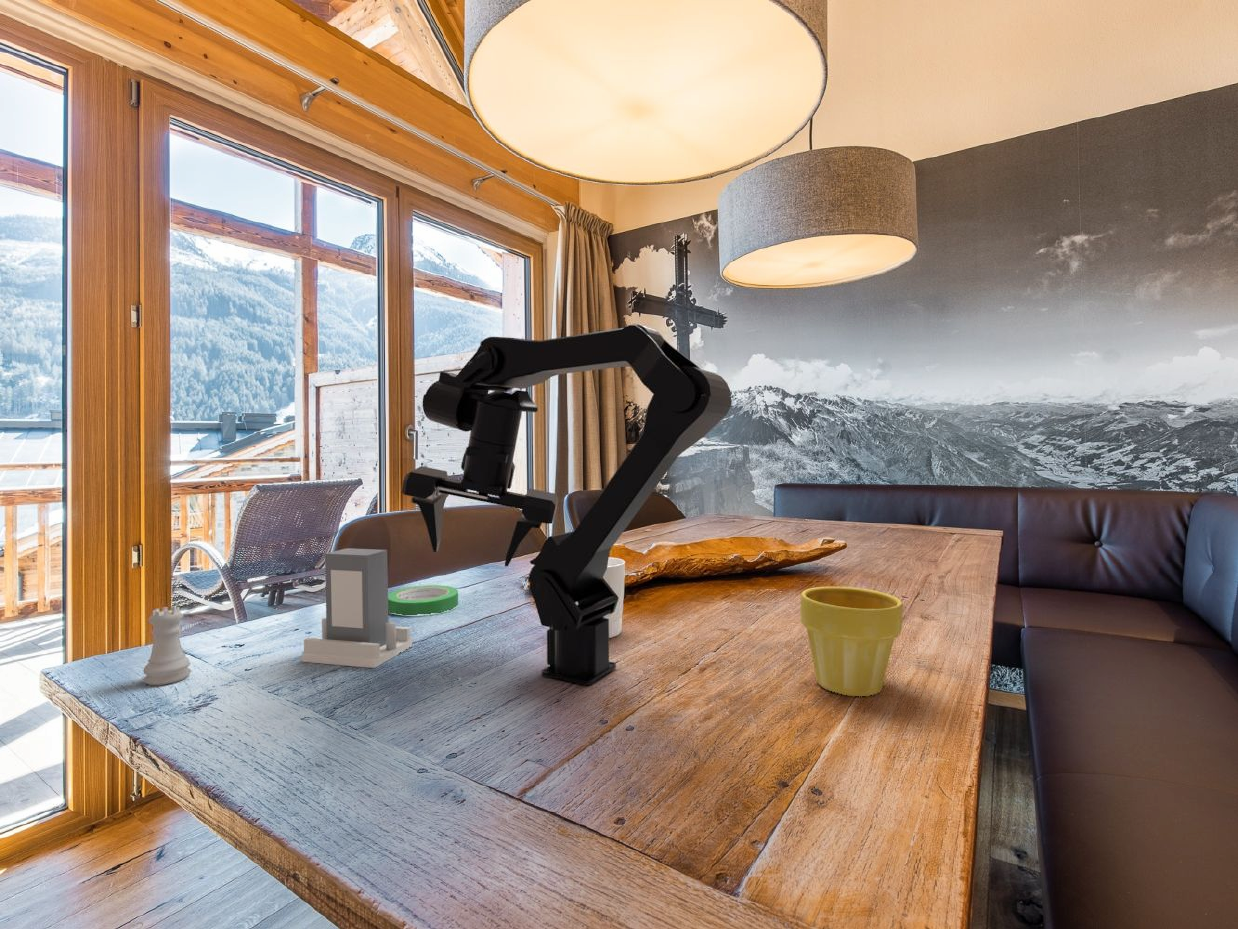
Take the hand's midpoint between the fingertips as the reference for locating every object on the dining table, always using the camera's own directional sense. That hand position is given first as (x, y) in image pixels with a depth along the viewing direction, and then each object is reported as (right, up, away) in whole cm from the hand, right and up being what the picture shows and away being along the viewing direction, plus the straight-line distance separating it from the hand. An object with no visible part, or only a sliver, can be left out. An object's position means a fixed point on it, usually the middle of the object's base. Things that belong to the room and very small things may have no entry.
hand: (471, 558), depth 79 cm
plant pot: (+44, -12, -12) cm, 47 cm away
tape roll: (-13, -12, +21) cm, 28 cm away
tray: (-14, -12, -1) cm, 18 cm away
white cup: (+16, -12, +7) cm, 21 cm away
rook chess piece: (-32, -12, -9) cm, 36 cm away
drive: (-14, -11, -1) cm, 18 cm away
